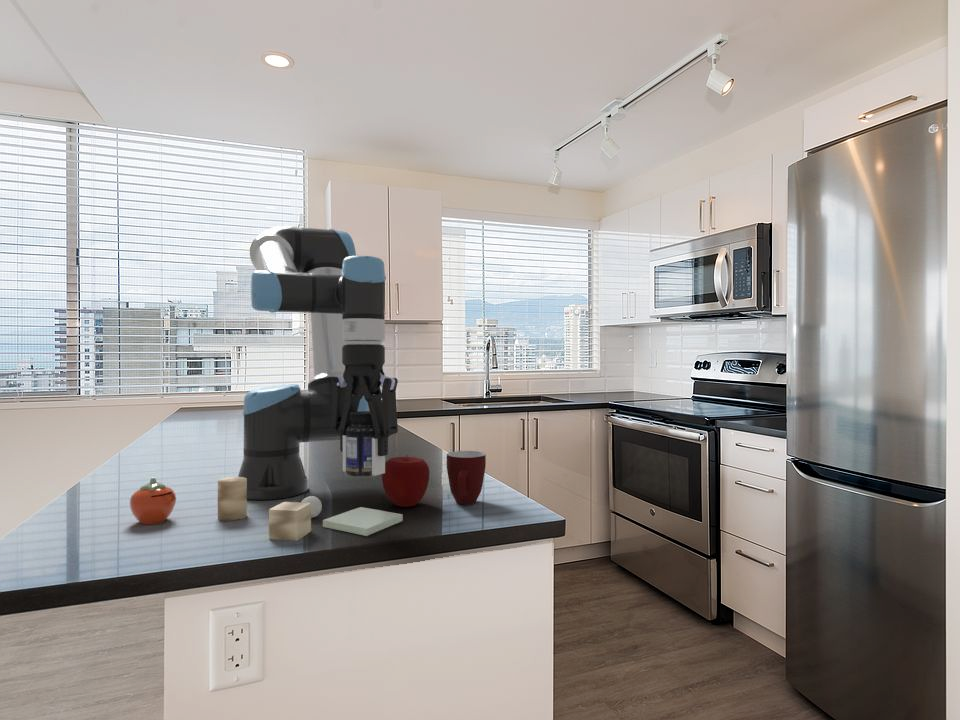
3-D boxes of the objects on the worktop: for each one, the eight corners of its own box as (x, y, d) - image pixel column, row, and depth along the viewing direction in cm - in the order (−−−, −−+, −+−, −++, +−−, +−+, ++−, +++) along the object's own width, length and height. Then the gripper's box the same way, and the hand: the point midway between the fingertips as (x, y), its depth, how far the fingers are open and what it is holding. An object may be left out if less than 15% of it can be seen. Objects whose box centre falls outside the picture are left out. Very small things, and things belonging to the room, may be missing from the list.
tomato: (145, 530, 100) (144, 484, 100) (120, 523, 104) (120, 479, 103) (185, 519, 106) (184, 476, 106) (160, 513, 110) (160, 471, 110)
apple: (431, 510, 113) (431, 459, 113) (381, 512, 111) (381, 461, 111) (427, 498, 122) (427, 451, 122) (381, 500, 121) (381, 452, 120)
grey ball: (294, 518, 107) (294, 497, 107) (310, 513, 110) (310, 492, 110) (310, 522, 105) (310, 500, 105) (326, 516, 108) (326, 495, 108)
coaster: (322, 526, 102) (322, 520, 102) (360, 513, 111) (360, 506, 111) (366, 535, 97) (366, 528, 97) (402, 520, 106) (402, 514, 106)
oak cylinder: (211, 518, 107) (211, 480, 107) (234, 512, 111) (234, 475, 111) (229, 522, 105) (229, 484, 104) (252, 515, 109) (252, 478, 109)
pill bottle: (382, 469, 107) (382, 410, 107) (379, 477, 101) (379, 414, 101) (348, 470, 106) (348, 410, 106) (343, 477, 100) (343, 414, 100)
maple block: (269, 539, 96) (269, 509, 96) (284, 530, 100) (284, 501, 100) (297, 541, 95) (297, 510, 95) (310, 531, 100) (311, 503, 100)
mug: (486, 511, 113) (486, 460, 113) (444, 511, 113) (445, 460, 112) (484, 497, 123) (485, 450, 123) (447, 497, 123) (447, 450, 123)
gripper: (309, 343, 105) (309, 470, 105) (393, 342, 96) (393, 481, 96) (338, 344, 111) (338, 463, 112) (419, 343, 102) (419, 473, 102)
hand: (363, 471), depth 104 cm, fingers closed on pill bottle, 6 cm apart
